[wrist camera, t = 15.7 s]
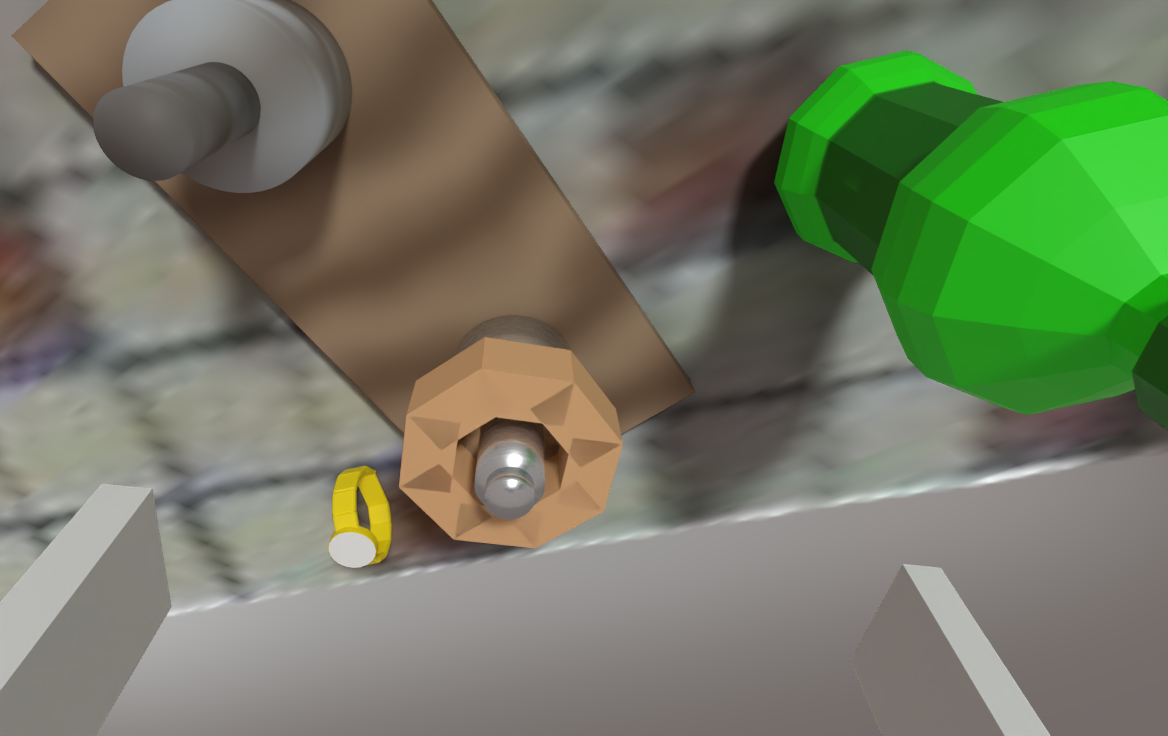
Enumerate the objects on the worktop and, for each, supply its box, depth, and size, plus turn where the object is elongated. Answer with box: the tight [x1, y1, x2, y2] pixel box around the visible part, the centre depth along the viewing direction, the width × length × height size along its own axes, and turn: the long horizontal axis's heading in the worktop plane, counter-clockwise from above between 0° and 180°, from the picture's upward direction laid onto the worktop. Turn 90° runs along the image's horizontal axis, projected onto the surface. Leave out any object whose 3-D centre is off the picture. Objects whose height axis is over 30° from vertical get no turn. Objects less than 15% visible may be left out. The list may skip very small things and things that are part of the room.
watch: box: [328, 466, 392, 568], centre depth 44 cm, size 6×3×6 cm, turn 11°
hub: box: [453, 315, 572, 520], centre depth 36 cm, size 7×7×12 cm
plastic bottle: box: [774, 51, 1168, 430], centre depth 26 cm, size 10×10×25 cm
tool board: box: [12, 0, 694, 434], centre depth 32 cm, size 34×16×14 cm, turn 33°
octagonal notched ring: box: [399, 337, 623, 548], centre depth 34 cm, size 10×10×3 cm
